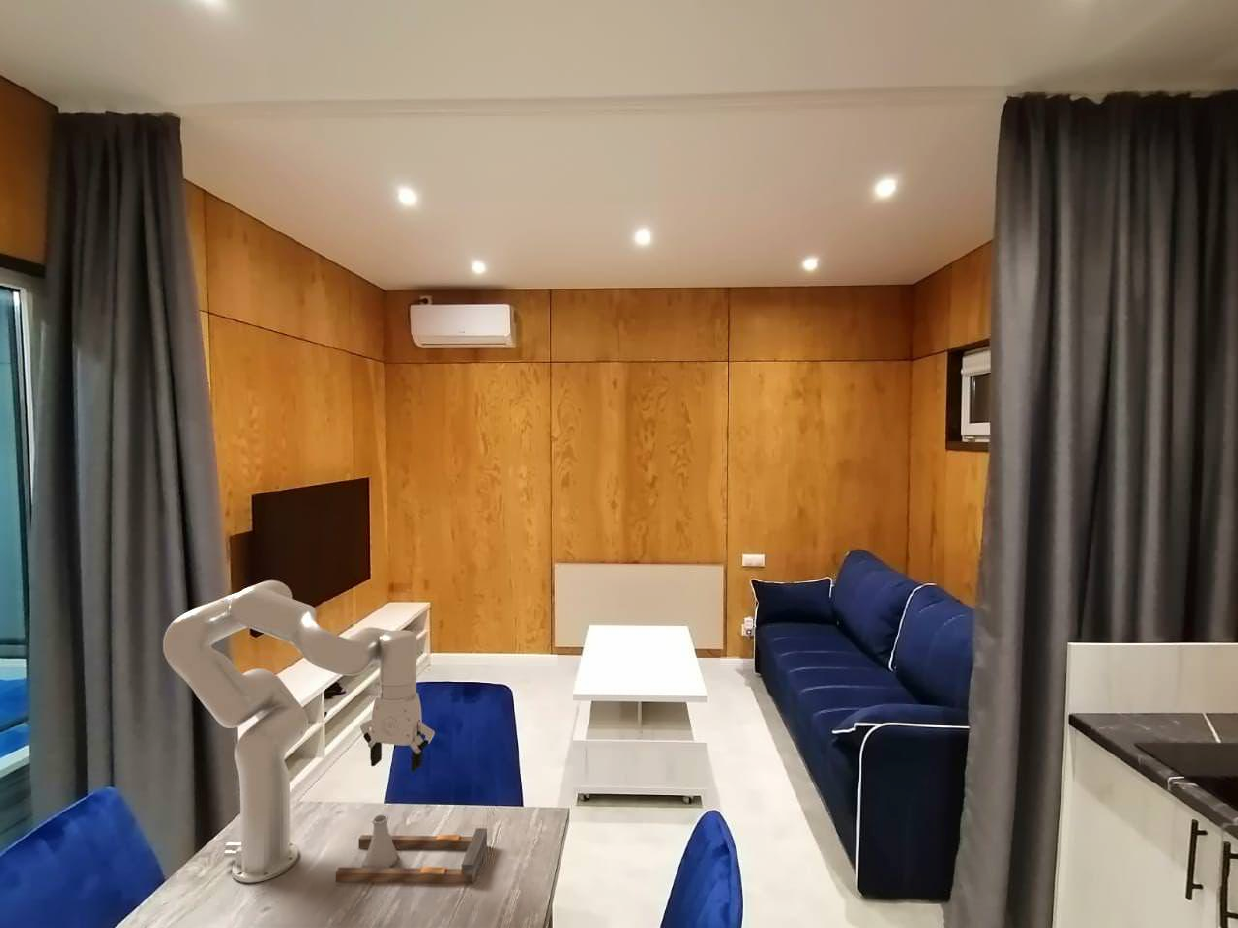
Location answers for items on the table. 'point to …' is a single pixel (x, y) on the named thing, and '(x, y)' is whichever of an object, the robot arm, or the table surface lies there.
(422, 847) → the guide channel
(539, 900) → the table surface
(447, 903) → the table surface
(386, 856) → the flask
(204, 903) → the table surface
